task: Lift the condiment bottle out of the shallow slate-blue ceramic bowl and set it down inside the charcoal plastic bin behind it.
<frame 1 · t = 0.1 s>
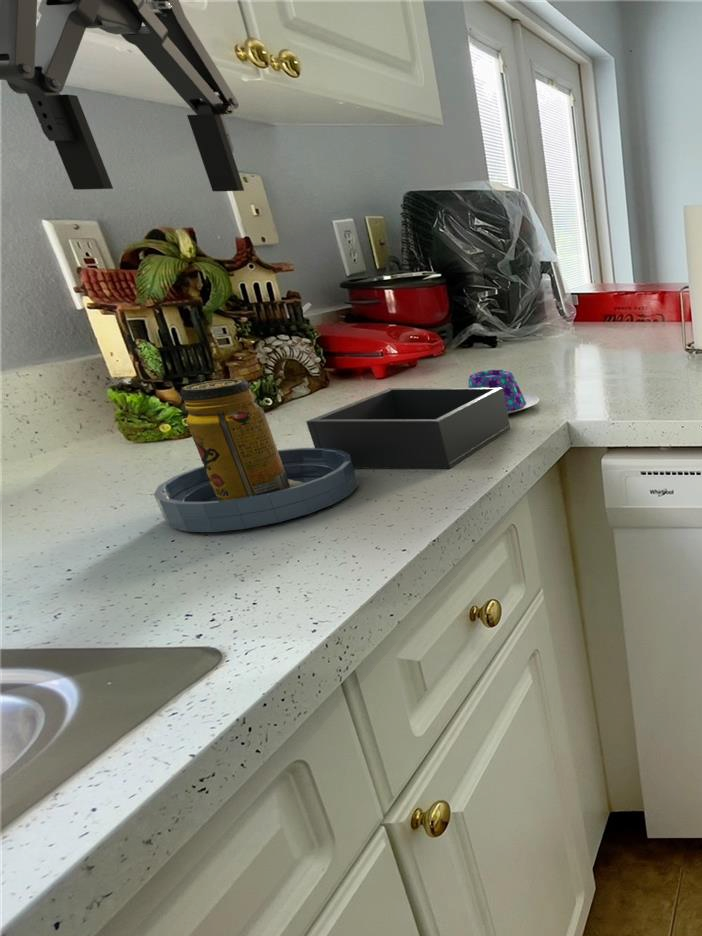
hand: (167, 190, 64), 29 cm above the worktop, tool pointing down, fingers open, 13 cm apart
condiment: (268, 500, 73), resting on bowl
bin: (422, 447, 88), on the worktop
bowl: (269, 502, 73), on the worktop
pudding: (497, 410, 105), on the worktop
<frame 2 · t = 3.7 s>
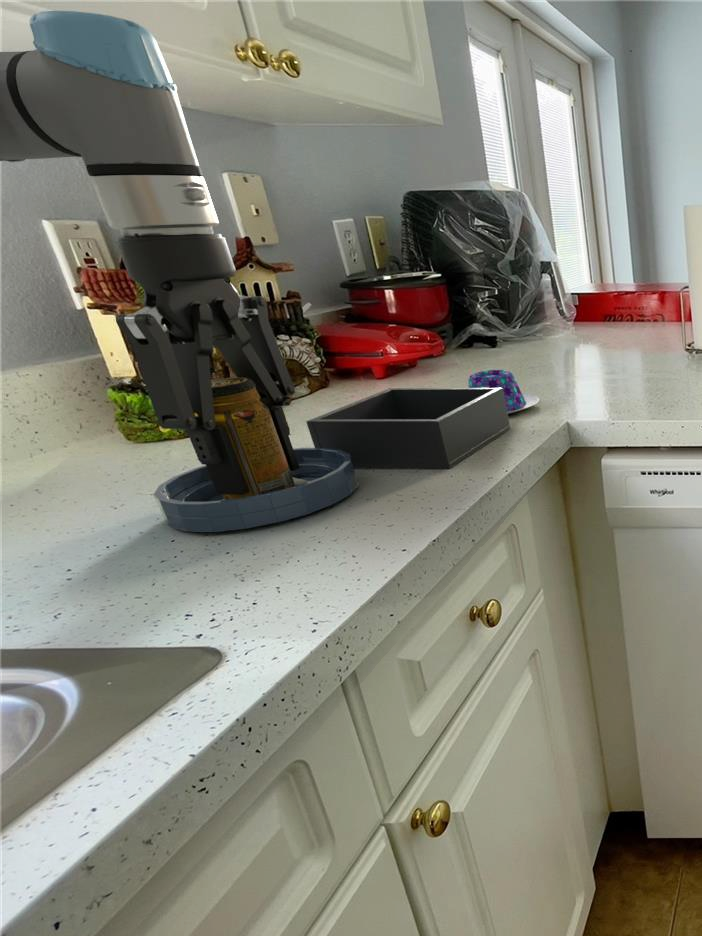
hand: (260, 480, 72), 2 cm above the worktop, tool pointing down, fingers closed on condiment, 6 cm apart
condiment: (273, 498, 73), resting on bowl, touching gripper
everything else where it was.
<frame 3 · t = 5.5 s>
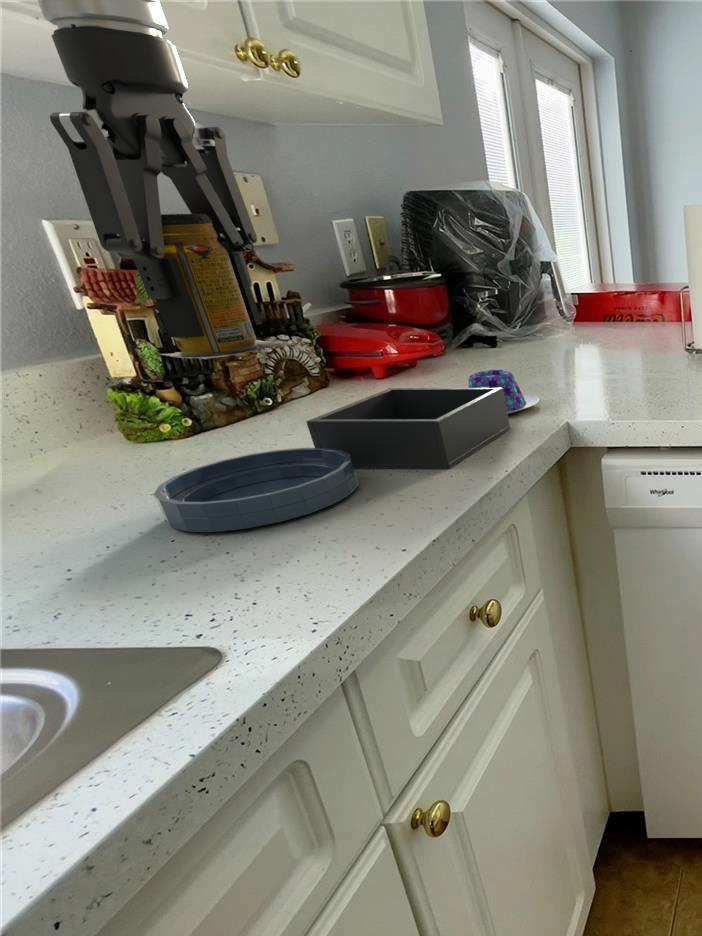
hand: (217, 329, 66), 17 cm above the worktop, tool pointing down, fingers closed on condiment, 6 cm apart
condiment: (232, 353, 68), point 15 cm above the worktop, touching gripper
everything else where it was.
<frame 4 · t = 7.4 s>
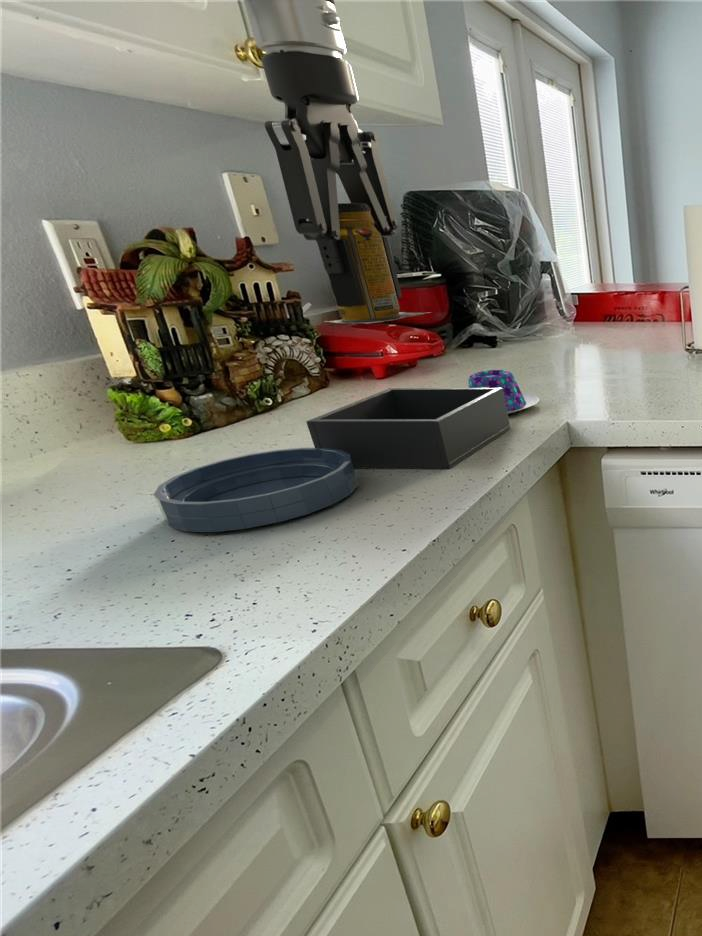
hand: (371, 301, 79), 18 cm above the worktop, tool pointing down, fingers closed on condiment, 6 cm apart
condiment: (380, 320, 81), point 15 cm above the worktop, touching gripper
everything else where it was.
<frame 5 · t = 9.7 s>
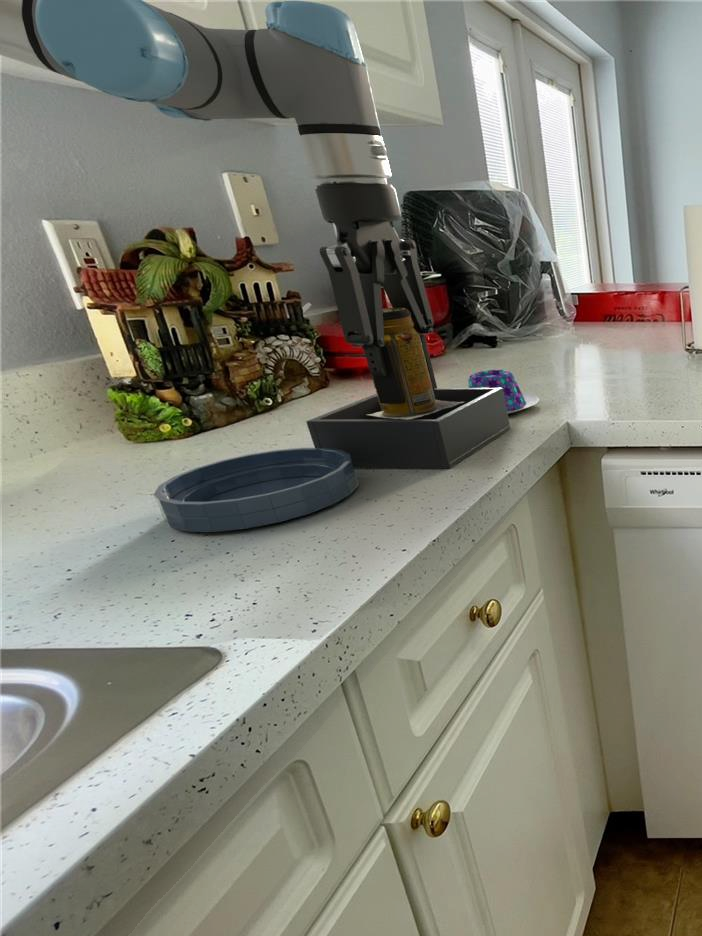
hand: (409, 395, 86), 7 cm above the worktop, tool pointing down, fingers closed on condiment, 6 cm apart
condiment: (417, 411, 87), point 4 cm above the worktop, touching gripper
everything else where it was.
when the fingers open (5 cm above the worktop, at t = 11.8 s): condiment stays where it is, resting on bin.
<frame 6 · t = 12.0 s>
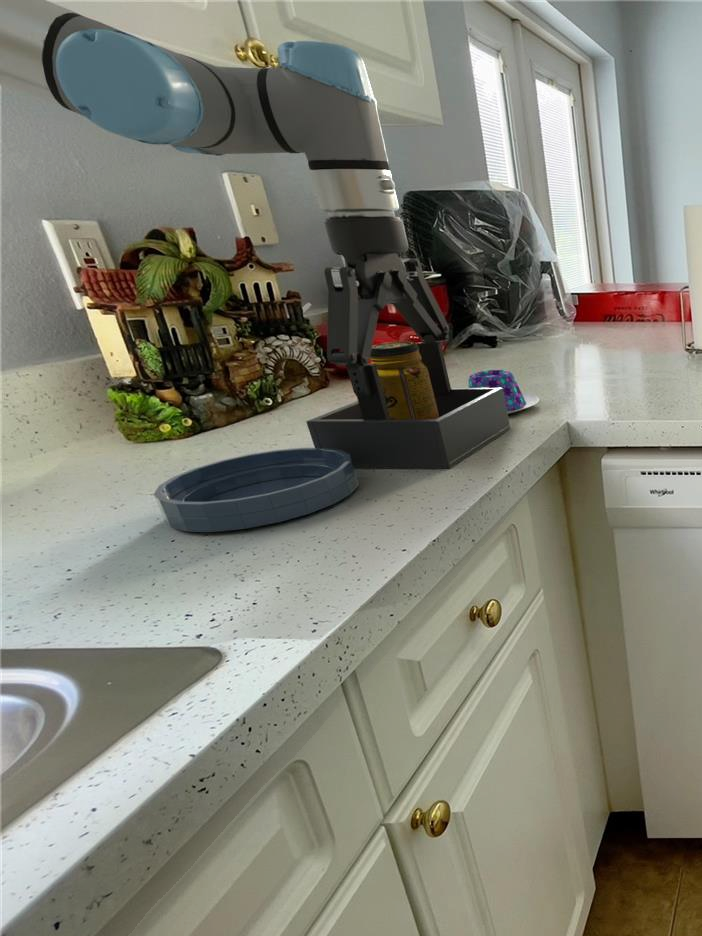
hand: (411, 407, 86), 5 cm above the worktop, tool pointing down, fingers open, 13 cm apart
condiment: (425, 442, 89), resting on bin
everything else where it was.
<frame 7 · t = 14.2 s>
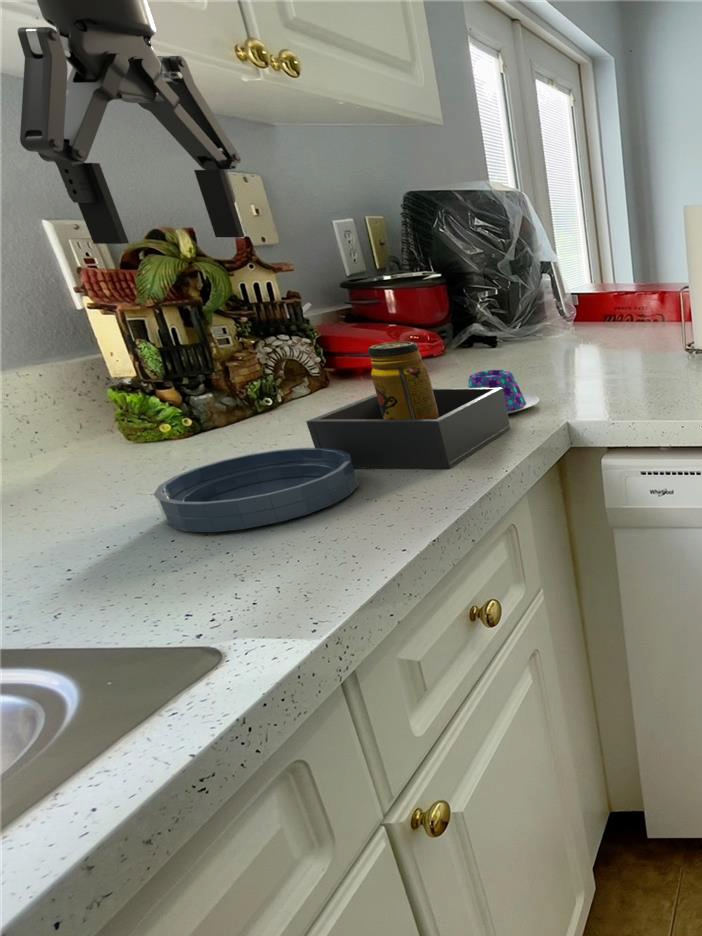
hand: (176, 240, 71), 25 cm above the worktop, tool pointing down, fingers open, 13 cm apart
nothing on the worktop moved.
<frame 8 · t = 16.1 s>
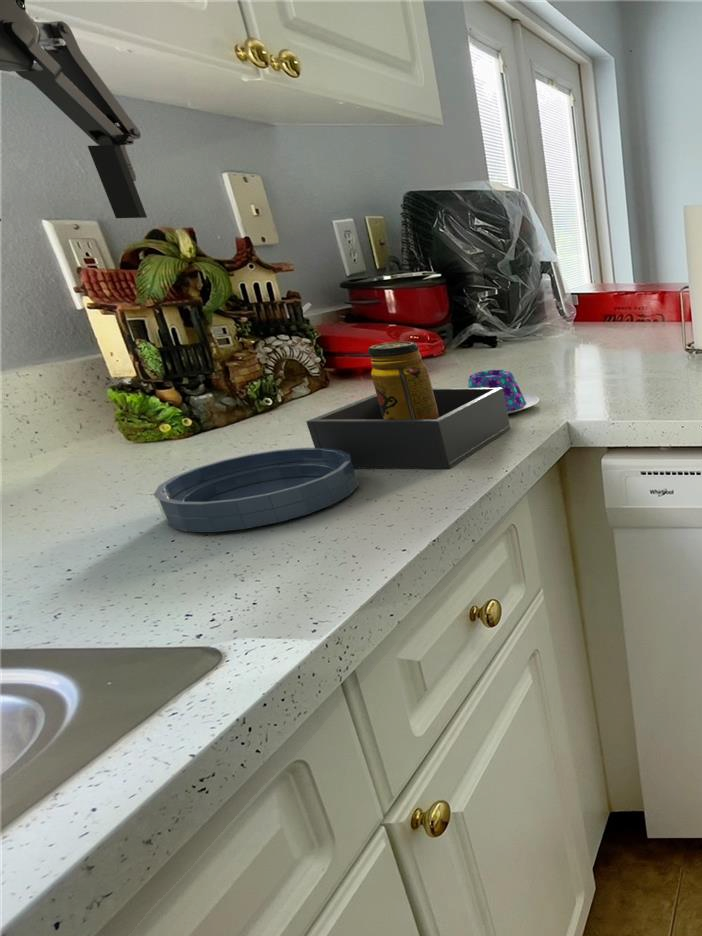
hand: (64, 220, 66), 27 cm above the worktop, tool pointing down, fingers open, 13 cm apart
nothing on the worktop moved.
at the end: condiment inside the target area in the bin (0.7 cm from its centre), point 0.4 cm above the bin's base; the gripper is holding nothing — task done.
